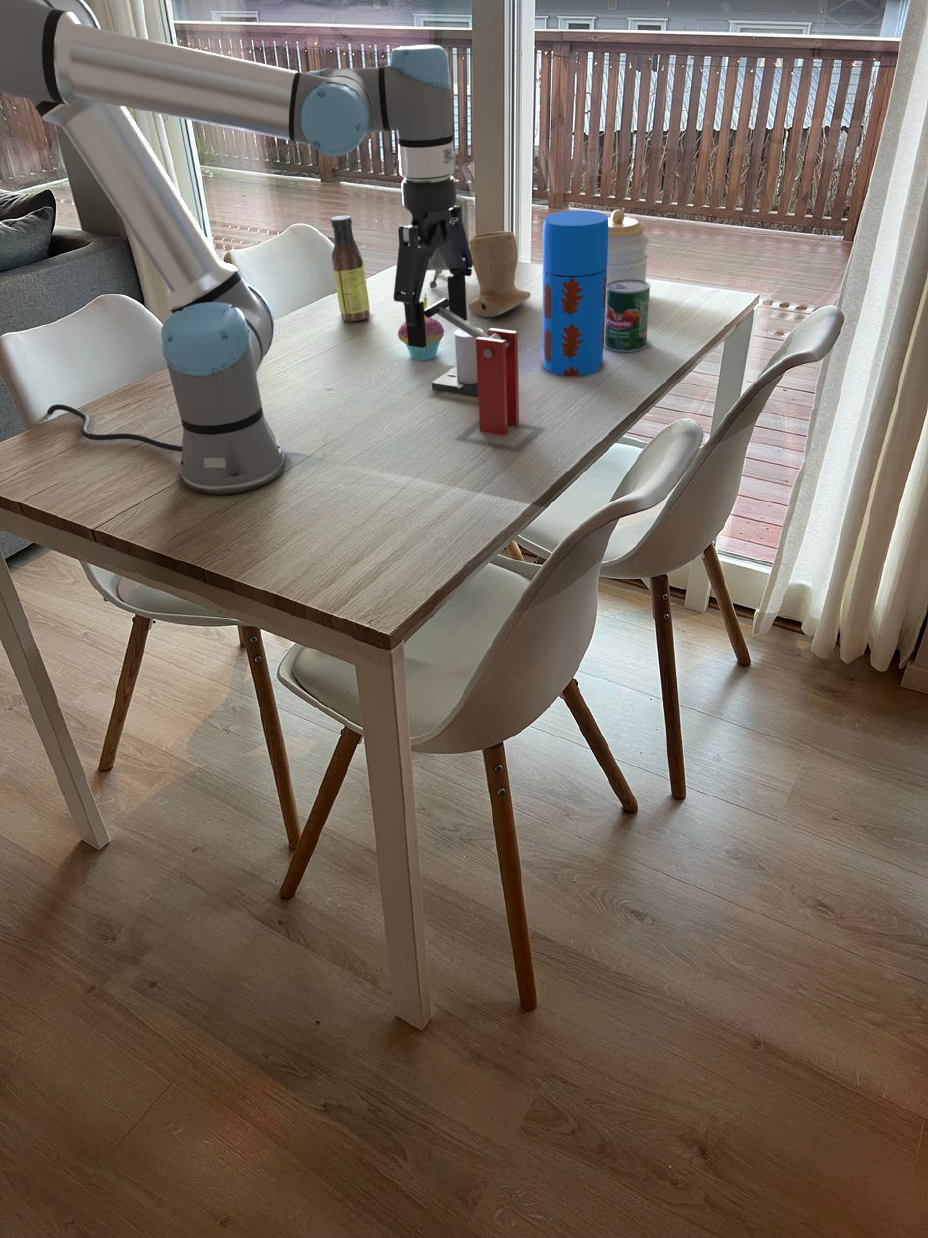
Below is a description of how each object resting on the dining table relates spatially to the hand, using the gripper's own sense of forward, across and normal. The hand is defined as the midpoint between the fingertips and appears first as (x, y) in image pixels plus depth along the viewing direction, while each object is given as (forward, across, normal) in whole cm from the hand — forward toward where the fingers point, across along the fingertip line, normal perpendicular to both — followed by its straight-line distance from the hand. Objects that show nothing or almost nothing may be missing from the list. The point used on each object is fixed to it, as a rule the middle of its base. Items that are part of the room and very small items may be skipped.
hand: (438, 332), depth 141 cm
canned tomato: (+15, +44, -14) cm, 49 cm away
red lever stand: (+15, 0, -10) cm, 18 cm away
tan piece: (+15, +55, +19) cm, 60 cm away
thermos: (+15, +31, -9) cm, 36 cm away
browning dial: (+12, +13, +2) cm, 18 cm away
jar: (+15, +69, -2) cm, 71 cm away
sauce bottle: (+15, +39, +44) cm, 61 cm away
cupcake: (+15, +25, +19) cm, 35 cm away
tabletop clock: (+15, +68, +38) cm, 79 cm away
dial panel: (+15, +13, +2) cm, 20 cm away
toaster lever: (0, 0, -5) cm, 5 cm away
